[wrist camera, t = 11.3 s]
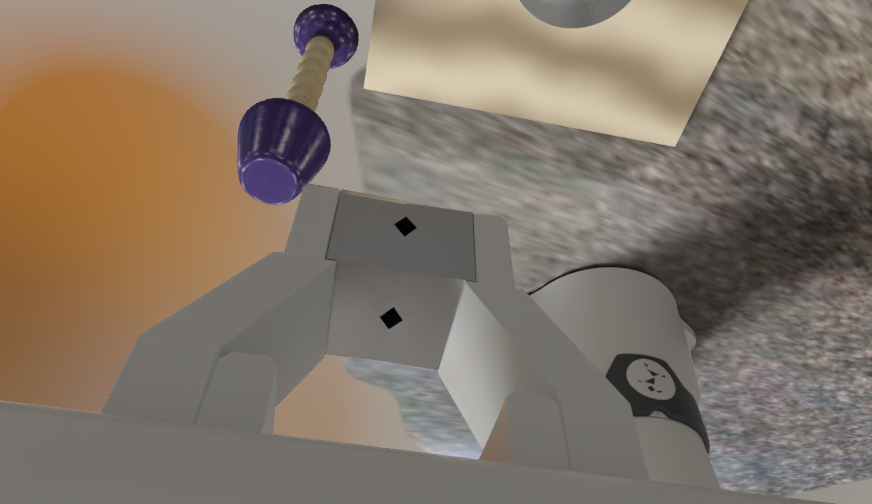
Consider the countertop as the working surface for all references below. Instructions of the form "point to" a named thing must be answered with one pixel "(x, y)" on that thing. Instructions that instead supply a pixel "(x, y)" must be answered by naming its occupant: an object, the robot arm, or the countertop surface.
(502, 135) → the countertop surface
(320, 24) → the toy lamp
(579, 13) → the silver disc with handle
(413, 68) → the birch stand
